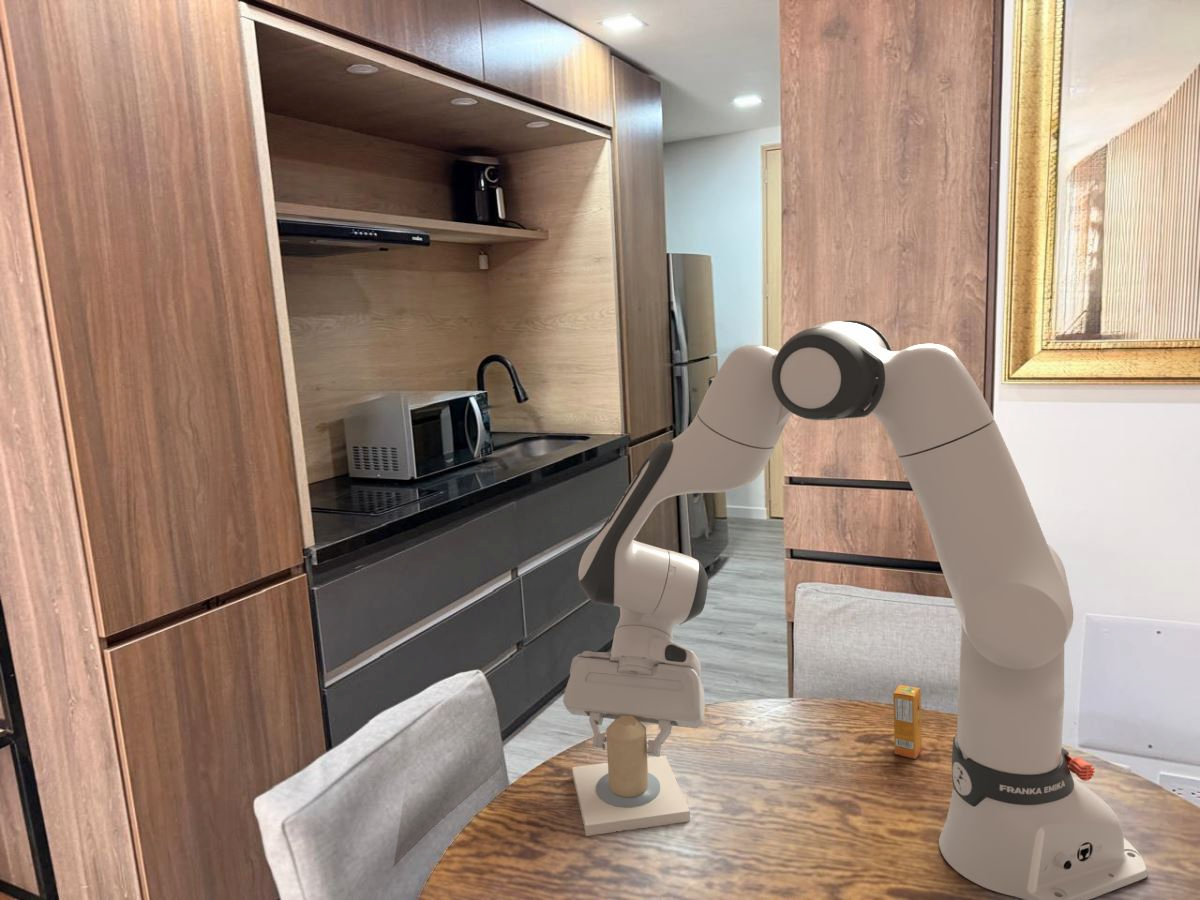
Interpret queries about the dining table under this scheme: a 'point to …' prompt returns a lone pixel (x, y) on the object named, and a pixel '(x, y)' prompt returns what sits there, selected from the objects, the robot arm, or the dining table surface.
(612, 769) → the candle
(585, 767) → the base board
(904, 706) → the supplement box
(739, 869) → the dining table surface
